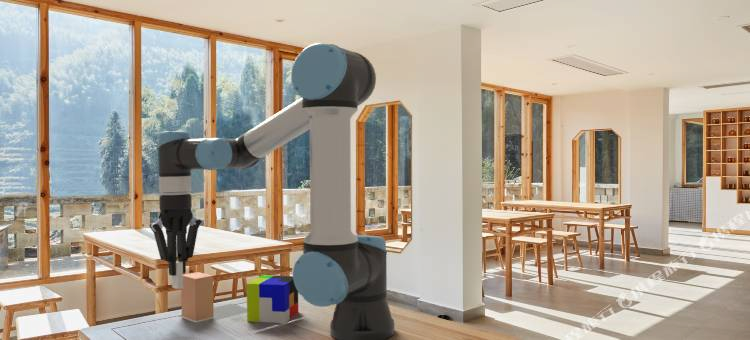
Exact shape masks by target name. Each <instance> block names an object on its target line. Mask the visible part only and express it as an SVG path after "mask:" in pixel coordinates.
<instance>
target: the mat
mask: <svg viewBox="0 0 750 340" xmlns="http://www.w3.org/2000/svg"><path fill="white" fill-rule="evenodd" d="M213 309H214V318H213V319H209V320H205V321H201V322H197V323H196V324H198V325H203V324H207V323H212V322H214V321H219V320H223V319H226V318H231V317H234V316H239V315H241V314H245V313H246V314H247V307H244V306H240V305H237V304H233V303H228V304H223V305H220V306H215V307H213ZM177 317H179V318H182V314H181V315H178V316H177ZM182 319H183V318H182ZM188 321H190V320H188ZM190 322H192V323H194V322H193V321H190Z"/></svg>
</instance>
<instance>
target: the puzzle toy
mask: <svg viewBox="0 0 750 340" xmlns="http://www.w3.org/2000/svg"><path fill="white" fill-rule="evenodd" d="M246 308H247V312H246V320H247V322H255V323H256V322H258V323H276V324H277V325H278V326H282V325H283V326H285V325H286V324H288V323H289V322H291V318H293V317H294V316H295V315H296V314H298V313H299V292H298V291H297V289H296V287H295V284H294V280H293V275H267V274H263V275H260V276H258V277H256V278H254V279H252V280H250V281H249V282H247V283H246Z"/></svg>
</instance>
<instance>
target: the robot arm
mask: <svg viewBox="0 0 750 340" xmlns="http://www.w3.org/2000/svg"><path fill="white" fill-rule="evenodd" d="M290 73H291V74H290V75H291V76H290V77H291V83H292V87H293V88H294V90H296V92H297V94H298V95H299V96H300V98H299V99H297V100H296V101H294V102H292V103H290V104H289V105H288V106H286V107H284V108H283V109H282V110H280V111H279V112H277V113H274V115H272V116H270V117H268V118H267V119H265V120H264V121H263V122H261V123H260V124H257V125H256V126H254V127H253V128H251V129H249V130H247V132H245V133H244V134H241V135H240V136H238V137H237V138H221V137H207V138H206V137H204V138H201V137H200V138H191V134H190V132H188V131H184V130H183V131H180V130H174V131H173V130H172V131H170V130H169V131H168V130H166V131H165V130H164V131H161V132H160V133H159V134H158V139H157V153H158V154H157V155H158V157H157V160H158V190H159V191H158V192H159V193H161V194H160V195H159V210H160V211H159V215H158V219H157V220H156V221H154V223H153V222H152V223H150V224H149V228H150V230H151V231H152V233H153V234H154V235H153V236H154V238H155V243H156V247H157V250H158V254H159V257H160V260H161V261H162V262H163V261H164V262H166V263H168V275H169V276H171V287H172V289H175V290H176V289H177V290H181V288H183V275H185V274H186V273H187V268H186V264H187V263H186V262H188V261H189V259H191V258H192V257H194V251H195V247H196V241H197V238H198V237H197V236H198V231H199V227H201V223H202V220H201V219H200V218H197V217H195V216H194V214H193V212H192V207H193V205H192V195H191V194H192V193H191V194H190V192H192V173H191V172H192V171H191V170H207V171H213V170H214V171H216V170H223V169H224V170H225V169H227V170H228V169H250V168H255V167H258V166H259V165H260V164H261V162H262V161H263V159H264V157H265V156H267V155H269V154H270V153H272V152H274V151H276V150H277V149H279V148H280V147H282V146H284V145H286V144H288V143H289V142H291V141H292V140H294V139H296V138H297V137H299V136H301V135H303V134H304V133H306V132H308V131H309V195H310V196H309V206H310V207H309V208H310V210H309V212H310V213H309V214H310V217H309V219H310V221H309V223H310V229H309V233H308V234H307V235H306V236H305V237H304V238H303V241H302V243H303V244H302V245H303V246H302V254H301V255H300V256H299V257H298V259H297V260H296V261H295V263H294V265H293V270H292V276H293V280H294V284H295V287H296V289H297V291H298V295H301V296H302V298H303V300H305V301H306V302H307V303H309V304H310V305H313V306H315V307H320V308H322V307H323V308H325V307H330V306H332V305H333V306H334V305H335V307H334V311H333V316H332V320H331V321H330V326H329V328H330V329H329V331H330V332H329V333H330V336H331V337H332V338H333V339H336V340H387V339H389V338H391V337H392V336H394V334H395V330H396V329H395V325H396V324H395V321H394V320H395V319H393V318H392V314H391V310H390V309H391V308H390V307H389V303H388V298H387V297H388V296H387V295H388V294H387V282H388V281H387V278H388V277H387V253H388V251H387V246H386V245H387V244H386V240H385V238H383V237H382V236H379V235H365V234H364V235H363V234H362V235H361V234H354V233H353V231H352V219H351V218H352V211H351V210H352V206H351V205H352V203H351V199H352V196H351V194H352V192H351V191H352V190H351V189H352V187H351V185H352V183H351V170H352V169H351V166H352V165H351V161H352V160H351V157H352V156H351V119H352V117H353V116H354V114H356V113H357V112H358V107H359V106H360V105H361V104H363V103H365V102H366V101H367V100H368V99H370V97H371V95H372V94H373V93H374V90H375V87H376V84H377V83H376V81H377V74H376V71H375V68H374V66H373V64H372V62H371V61H370V60H369V59H368V58H367V57H366V56H364V55H363V54H360V53H358V52H355V51H351V50H348V49H346V48H343V47H341V46H339V45H336V44H334V43H330V44H329V43H324V42H317V43H313V44H310V45H308V46H306V47H305V48H304V49H302V50H301V52H300V53H299V54H297V56H296V57H295V60H294V62H293V63H292V68H291V72H290ZM188 225H189V227H188ZM163 227H164V229H165V234H164V231H163ZM165 235H166V238H165Z"/></svg>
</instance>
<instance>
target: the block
mask: <svg viewBox="0 0 750 340" xmlns="http://www.w3.org/2000/svg"><path fill="white" fill-rule="evenodd" d="M213 276H214V275H212V274H207V273H203V272H201V271H200V272H199V271H196V272H191V273H185V274H183V288H181V289H180V298H181V299H180V300H181V301H180V302H181V303H180V304H181V305H180V306H181V315H182V319H185V320H187V321H189V320H190V322H192V321H193V322H192V323H195V324H198V323H197V322H201V321H205V320H209V319H213V318H214V309H213V308H214V277H213Z"/></svg>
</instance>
